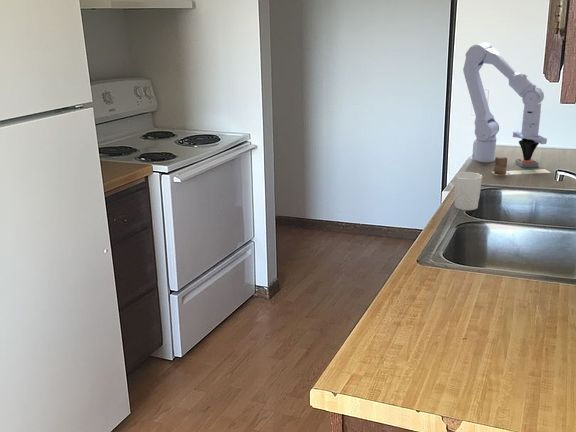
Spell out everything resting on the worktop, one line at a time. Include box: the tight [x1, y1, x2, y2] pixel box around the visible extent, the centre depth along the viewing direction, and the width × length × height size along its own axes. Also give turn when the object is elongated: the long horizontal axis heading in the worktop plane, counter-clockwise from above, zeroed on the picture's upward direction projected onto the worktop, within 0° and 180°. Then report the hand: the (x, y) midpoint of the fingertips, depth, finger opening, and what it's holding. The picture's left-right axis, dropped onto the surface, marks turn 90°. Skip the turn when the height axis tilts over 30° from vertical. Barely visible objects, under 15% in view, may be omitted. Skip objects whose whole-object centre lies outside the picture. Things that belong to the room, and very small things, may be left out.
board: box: [491, 168, 552, 176], centre depth 219 cm, size 10×20×1 cm, turn 93°
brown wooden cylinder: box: [493, 156, 508, 176], centre depth 217 cm, size 4×4×6 cm
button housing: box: [515, 158, 539, 168], centre depth 227 cm, size 6×6×2 cm
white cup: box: [454, 171, 483, 211], centre depth 186 cm, size 8×8×10 cm
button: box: [520, 158, 535, 163], centre depth 227 cm, size 4×4×2 cm
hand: (527, 159), depth 226 cm, fingers closed, pressing on button
